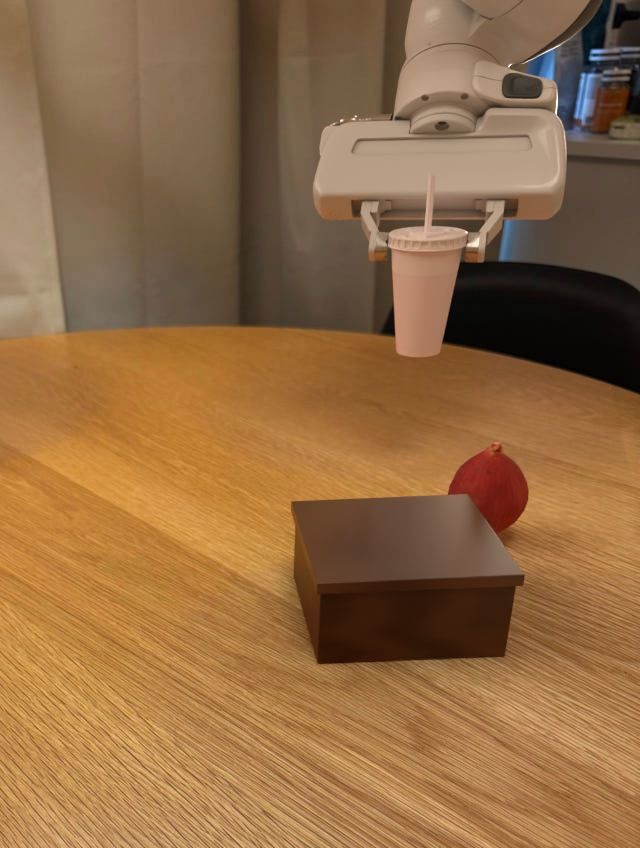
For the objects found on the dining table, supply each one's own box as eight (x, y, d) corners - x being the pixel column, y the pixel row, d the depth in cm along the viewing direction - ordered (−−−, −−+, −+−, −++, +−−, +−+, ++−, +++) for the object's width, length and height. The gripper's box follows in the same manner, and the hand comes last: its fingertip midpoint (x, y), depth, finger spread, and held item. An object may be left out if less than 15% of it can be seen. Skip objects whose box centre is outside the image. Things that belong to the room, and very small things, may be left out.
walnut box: (458, 568, 75) (468, 493, 72) (511, 658, 64) (525, 574, 61) (288, 575, 75) (291, 500, 72) (313, 666, 64) (317, 583, 61)
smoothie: (375, 360, 85) (387, 180, 78) (384, 340, 90) (395, 169, 83) (454, 363, 83) (473, 178, 76) (458, 342, 89) (476, 168, 81)
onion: (428, 538, 79) (438, 441, 75) (472, 517, 82) (484, 422, 78) (492, 562, 75) (506, 461, 71) (535, 539, 78) (552, 440, 74)
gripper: (320, 90, 85) (295, 233, 82) (578, 80, 79) (561, 233, 77) (327, 143, 91) (304, 278, 88) (567, 137, 85) (551, 282, 82)
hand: (425, 257), depth 82 cm, fingers closed on smoothie, 6 cm apart
